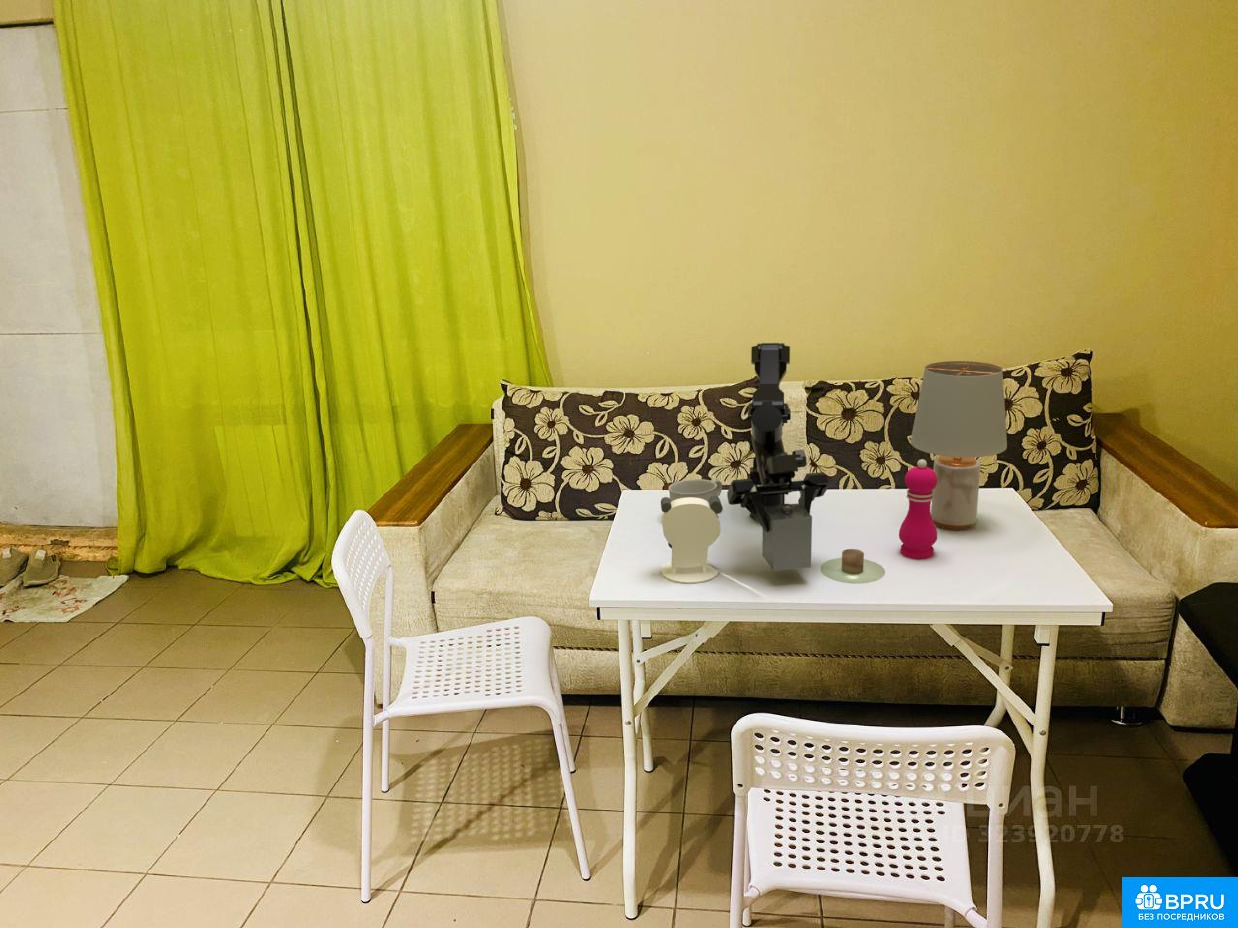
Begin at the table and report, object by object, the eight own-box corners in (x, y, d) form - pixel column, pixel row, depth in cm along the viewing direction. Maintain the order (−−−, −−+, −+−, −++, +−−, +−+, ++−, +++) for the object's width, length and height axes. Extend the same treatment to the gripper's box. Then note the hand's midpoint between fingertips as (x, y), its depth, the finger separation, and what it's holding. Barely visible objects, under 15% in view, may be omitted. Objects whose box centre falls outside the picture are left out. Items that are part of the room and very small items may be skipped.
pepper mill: (936, 550, 186) (942, 455, 180) (935, 564, 180) (941, 466, 174) (898, 547, 188) (903, 453, 182) (896, 561, 182) (901, 464, 176)
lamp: (894, 531, 197) (902, 374, 186) (920, 503, 212) (929, 356, 201) (988, 547, 186) (1001, 381, 176) (1008, 516, 201) (1022, 363, 191)
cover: (762, 555, 178) (762, 500, 174) (798, 552, 179) (799, 497, 175) (773, 570, 171) (773, 513, 168) (810, 567, 172) (812, 510, 168)
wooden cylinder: (852, 564, 180) (852, 547, 179) (867, 570, 177) (868, 553, 176) (837, 569, 178) (837, 552, 177) (852, 576, 175) (853, 559, 174)
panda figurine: (719, 558, 187) (718, 488, 182) (725, 582, 176) (725, 508, 172) (659, 561, 187) (657, 490, 183) (662, 584, 176) (660, 511, 172)
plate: (852, 555, 185) (852, 552, 185) (898, 575, 176) (898, 572, 175) (807, 570, 180) (807, 567, 179) (852, 591, 170) (852, 588, 170)
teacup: (685, 530, 202) (684, 496, 200) (660, 516, 211) (659, 482, 209) (738, 517, 208) (738, 484, 206) (712, 504, 217) (711, 471, 215)
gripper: (730, 439, 171) (746, 516, 164) (827, 431, 173) (847, 506, 166) (720, 467, 181) (735, 540, 174) (813, 459, 183) (831, 531, 176)
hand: (787, 529), depth 172 cm, fingers closed on cover, 7 cm apart
